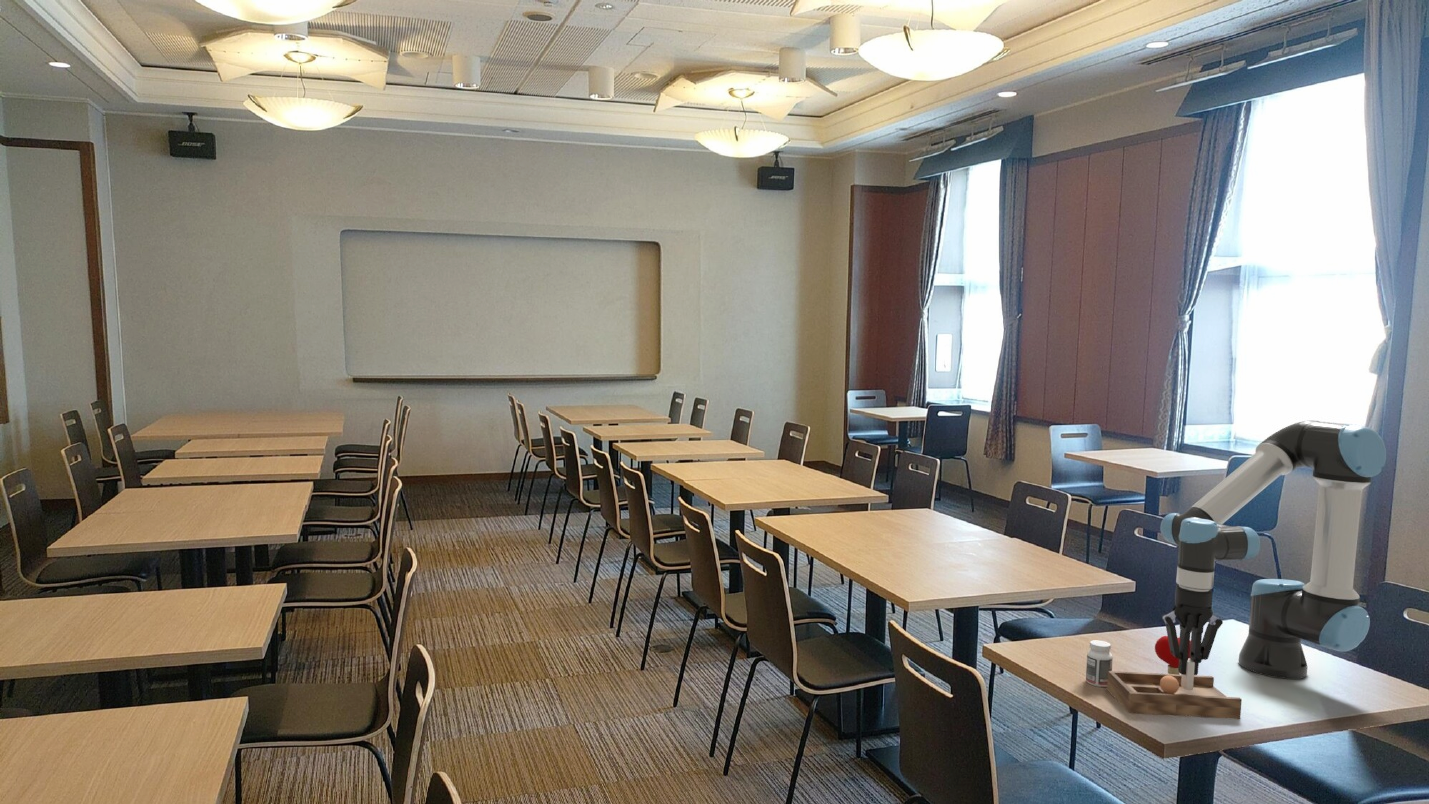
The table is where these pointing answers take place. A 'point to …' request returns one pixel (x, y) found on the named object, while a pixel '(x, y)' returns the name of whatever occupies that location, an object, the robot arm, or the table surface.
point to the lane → (1171, 696)
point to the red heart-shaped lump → (1168, 654)
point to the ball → (1169, 684)
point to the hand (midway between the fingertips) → (1186, 687)
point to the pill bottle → (1098, 663)
